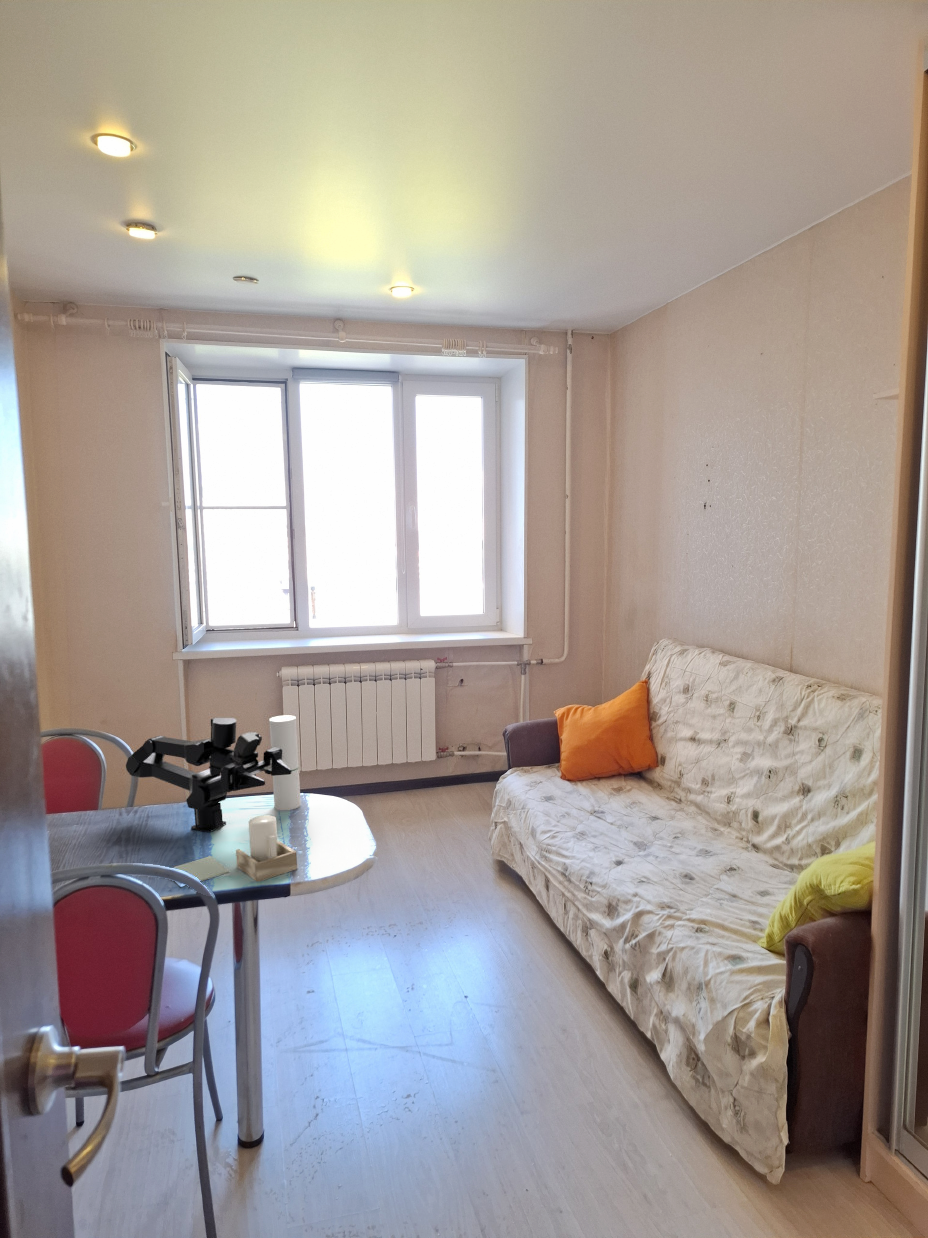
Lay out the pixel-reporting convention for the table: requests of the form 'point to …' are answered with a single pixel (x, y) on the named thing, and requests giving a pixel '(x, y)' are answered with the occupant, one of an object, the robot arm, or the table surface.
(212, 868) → the sage mat
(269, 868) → the frame
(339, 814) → the table surface
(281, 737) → the cylindrical container
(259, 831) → the rounded top cylinder
